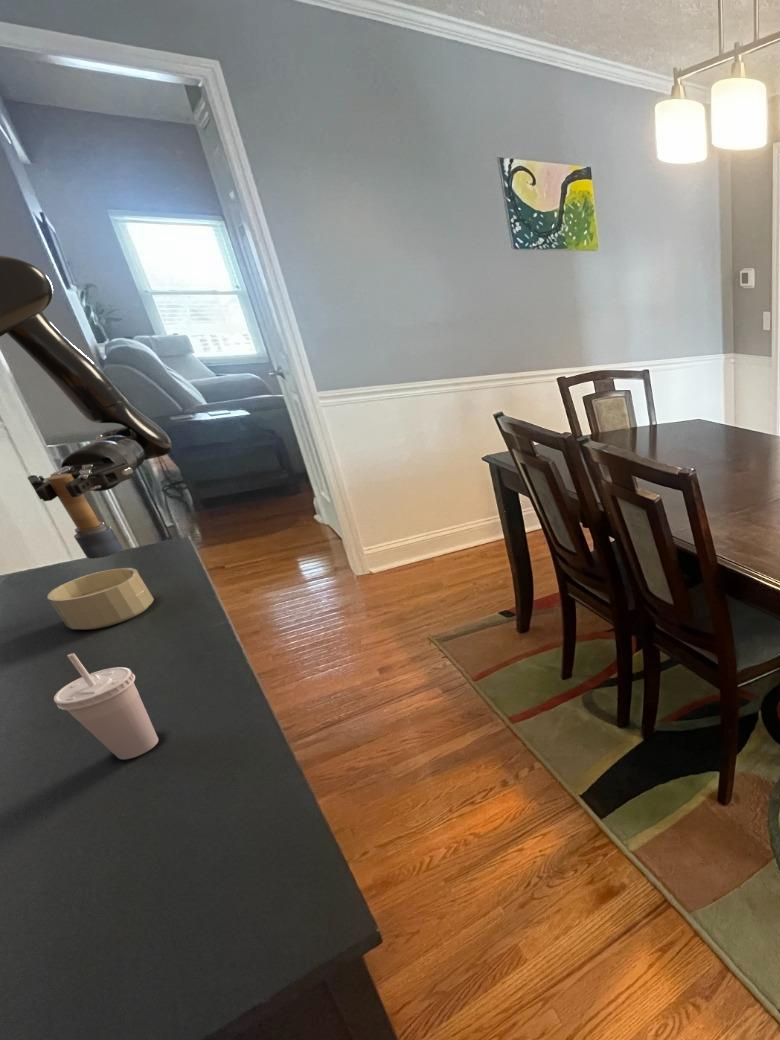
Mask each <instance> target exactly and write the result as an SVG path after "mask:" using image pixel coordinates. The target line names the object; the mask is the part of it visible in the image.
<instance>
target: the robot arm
mask: <svg viewBox="0 0 780 1040" xmlns="http://www.w3.org/2000/svg"><path fill="white" fill-rule="evenodd" d="M53 298H54V289H53V285H52V282H51V280H50V279H49V277H48V276H47V274H45V272H44V271H42V270H41V269H40V268H39V267H37V266H35V265H34V264H32V263H30V262H27V261H24V260H22V259H20V258H16V257H13V256H9V255H2V254H0V338H1V337H2V336H4V335H5V334H7V335H8V336H9V337H10V338H11V339H12V340H13V341H14V342H15V343H16V344H17V345H18V346H20V348H21V349H22V350H24V352H25V353H26V354H27V355H28V356H29V357H30V358H31V359H32V360H33V361H34V362H35V364H37V365H38V366H39V367H40V368H41V369H42V371H44V372H45V374H46V375H47V376H48V378H50V379H51V380H52V381H53V383H54V384H55V385H56V386H57V387H58V388H59V389H60V391H61V392H62V393H63V394H64V395H65V396H66V398H67V399H68V400H69V401H70V402H71V403H72V405H73V406H74V407H75V408H76V409H77V410H78V411H79V413H80V414H81V415H82V416H83V417H84V418H85V419H86V420H88V421H89V422H91V423H96V424H118V425H121V426H123V427H118V428H112V429H108V430H105V431H102V432H100V433H98V434H97V435H96V438H95V441H94V442H90V443H88V444H84V445H83V446H81V447H80V448H78V449H76V450H74V451H72V452H70V453H69V454H67V455H66V456H65V457H64V458H63V460H62V462H61V467H60V469H59V470H58V471H54V472H53V473H50V475H49V477H51V476H55V475H60V474H71V475H72V477H73V478H74V480H72V481H71V482H69V483H67V484H66V488H67V490H68V492H69V493H70V495H71V496H72V497H78V496H80V495H82V494H83V495H84V494H85V493H86V492H89V491H90V492H103V491H108V490H111V489H113V488H115V487H116V486H118V485H119V484H120V483H123V482H125V481H128V480H130V479H133V478H135V477H136V475H135V473H134V472H135V470H137V469H138V468H139V467H141V466H142V465H143V463H144V462H145V461H146V460H151V459H155V458H159V457H160V458H161V457H163V456H164V457H165V456H167V455H168V454H169V453H170V451H171V450H172V441H171V439H170V437H169V435H168V434H167V432H165V430H163V428H161V426H159V424H157V423H155V422H153V420H151V419H150V418H148V417H147V416H146V415H144V414H143V413H142V412H140V410H138V409H137V408H136V407H134V405H132V404H131V403H130V402H129V401H128V400H127V399H126V398H125V397H124V396H123V394H122V393H121V392H120V390H119V389H118V388H117V386H115V384H114V383H113V382H112V381H111V379H110V378H109V377H108V376H107V374H105V373H104V372H103V371H102V370H101V368H99V367H98V366H97V365H96V364H95V363H94V362H93V361H92V360H91V359H90V358H89V357H87V355H85V354H84V353H83V352H82V351H81V350H80V349H78V348H77V347H76V346H75V345H73V343H72V342H70V341H69V340H68V339H67V338H66V337H65V336H64V335H63V334H62V333H61V332H60V331H59V330H58V329H57V328H56V327H55V326H54V324H53V323H52V322H51V321H50V320H49V319H48V318H47V316H46V315H45V313H44V311H45V310H47V308H48V307H49V306H50V304H51V303H52V300H53ZM26 478H27V479H28V481H29V484H31V487H32V488H33V489H34V491H35V493H36V495H37V497H38V498H39V499H40V500H42V501H43V502H50V501H53V500H54V499H56V498H58V496H57V495H56V493H55V491H54V490H53V488H52V487H51V485H50V483H49V482H48V480H47V478H48V477H44V476H43V475H35V474H33V475H30V476H27V477H26Z"/></svg>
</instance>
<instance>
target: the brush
mask: <svg viewBox="0 0 780 1040" xmlns="http://www.w3.org/2000/svg"><path fill="white" fill-rule="evenodd" d="M46 478H47V480H48V482H49V483H50V485H51V487H52V488H53V490H54V491H55V493H56V495H57V498H58V500H59V501H60V503H61V504H62V506H63V508H64V509H65V512H67V515H68V516H69V517H70V519H71V521H72V522H73V524H74V525H75V527H76V528H75V529H74V531H75V534H74V535H73V538H74V539H75V541H76V542H77V544H78V546H79V547H80V549H81V551H82V553H83V554H84V555H85V557H86V558H87V559H90V560H91V559H92V560H93V559H100V558H105V557H109V556H112V555H115V554H118V553H119V552H121V551H122V550H123V549H124V547H123V545H122V543H121V542H120V540H119V538H118V537H117V535H116V534H115V531H114V530H113V529H112V527H111V526H106V524H105V523H104V522H101V521H100V520H99V518H98V517H97V515H96V513H95V512H94V510H93V508H92V507H91V505H90V504H89V502H88V500H87V498H86V496H85V494H84V493H83V494H82V495H80V496H78V497H72V496H71V495H70V493H69V492H68V490H67V488H66V484H67V483H69V482H71V481H72V480H74V478H73V477H72V475H71V474H60V475H55V476H51V477H50V476H49V477H46Z"/></svg>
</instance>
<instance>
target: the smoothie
mask: <svg viewBox="0 0 780 1040" xmlns="http://www.w3.org/2000/svg"><path fill="white" fill-rule="evenodd" d="M66 657H67V658H68V660H69V661H70V663H72V665H73V667H74V668H75V670H77V672H78V673H79V674H80V676H81V677H79V678H77V679H75V680H73V681H71V682H70V683H68V684H65V686H63V687H62V688H61V689H59V690H58V691H57V692H56V693H55V695H54V697H53V702H54V703H55V704H56V706H57V708H58V709H60V710H62V711H66V712H68V713H69V714H70V715H71V716H72V717H73V718H74V719H75V720H77V722H79V723H80V724H81V725H82V726H83V727H84V729H86V730H87V731H88V732H89V733H90V734H92V735H93V736H94V737H95V738H96V739H97V741H99V742H100V743H101V744H102V745H103V746H105V748H106V749H108V750H109V751H110V752H111V753H112V754H113V755H115V757H116V758H117V759H119V760H130V759H133V758H136V757H139V756H141V755H144V754H145V753H147V752H149V751H150V750H152V749H153V748H154V747H156V745H157V744H158V743H159V736H158V734H157V733H156V730H155V728H154V725H153V723H152V721H151V719H150V716H149V713H148V711H147V710H146V707H145V705H144V703H143V700H142V698H141V696H140V694H139V690H138V689H137V687H136V684H135V680H136V675H135V674H134V673H133V671H132V670H131V669H130V668H128V667H123V666H122V667H121V666H120V667H119V666H117V667H110V668H105V669H101V670H98V671H94V672H91V673H89V672H88V670H87V669H86V668H85V666H84V665H83V664H82V662H81V661H80V659H79V658H78V656H77V655H76V654H75V652H73V653H69V654H67V656H66Z"/></svg>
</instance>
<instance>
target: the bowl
mask: <svg viewBox="0 0 780 1040" xmlns="http://www.w3.org/2000/svg"><path fill="white" fill-rule="evenodd" d="M46 596H47V597H46V598H47V600H48V601H49V603H50V605H51V606H52V608H53V609H54V610H55V612H56V613H57V615H58V616H59V617H60V620H61V621H63V623H64V625H65V626H66V628H69V629H71V630H82V631H87V630H98V629H103V628H106V627H107V628H108V627H110V626H113V625H117V624H120V623H122V622H125V621H128V620H130V619H132V618H134V617H136V616H138V615H140V614H142V613H143V612H145V611H146V610H147V609H148V608H149V606H151V605H152V604H153V602H154V600H155V599H154V596H153V594H152V593H151V591H150V590H149V588H148V587H147V585H146V582H145V581H144V580H143V578H142V576H141V575H140V573H139V571H138V570H137V569H135V568H133V567H119V568H112V569H107V570H101V571H97V572H93V573H90V574H86V575H83V576H80V577H77V578H75V579H72V580H70V581H67V582H65V583H63V584H61V585H59V586H57V587H55V588H53V589H51V590H50V592H49V593H48V594H47V595H46Z"/></svg>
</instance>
